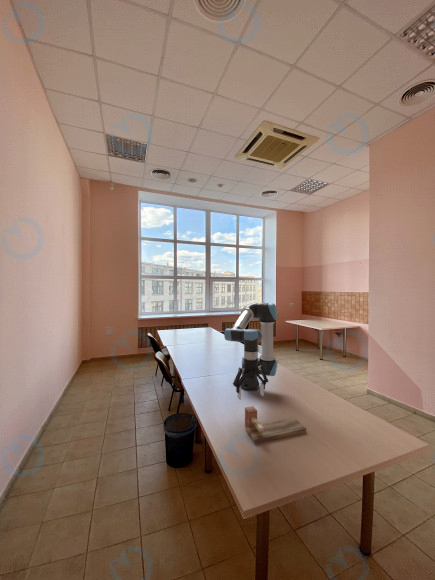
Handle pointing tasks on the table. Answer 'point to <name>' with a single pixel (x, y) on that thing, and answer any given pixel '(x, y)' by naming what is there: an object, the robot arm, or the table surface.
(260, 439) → the board
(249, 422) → the mallet
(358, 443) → the table surface
